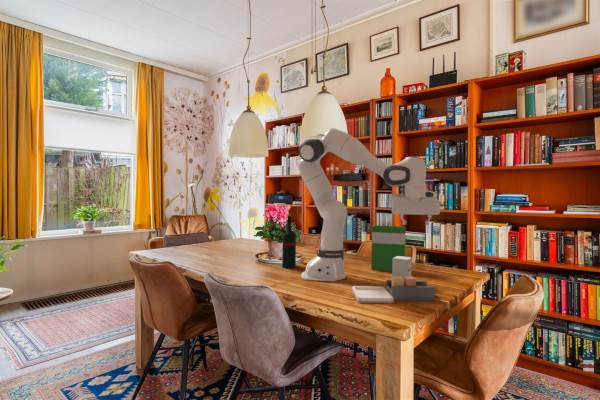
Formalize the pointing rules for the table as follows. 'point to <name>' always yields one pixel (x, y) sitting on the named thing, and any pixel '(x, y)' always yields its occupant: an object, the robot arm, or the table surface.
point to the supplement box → (401, 266)
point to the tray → (372, 294)
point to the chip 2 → (409, 281)
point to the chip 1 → (397, 281)
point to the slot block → (412, 292)
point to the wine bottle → (289, 247)
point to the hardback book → (386, 246)
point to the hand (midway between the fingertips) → (415, 224)
